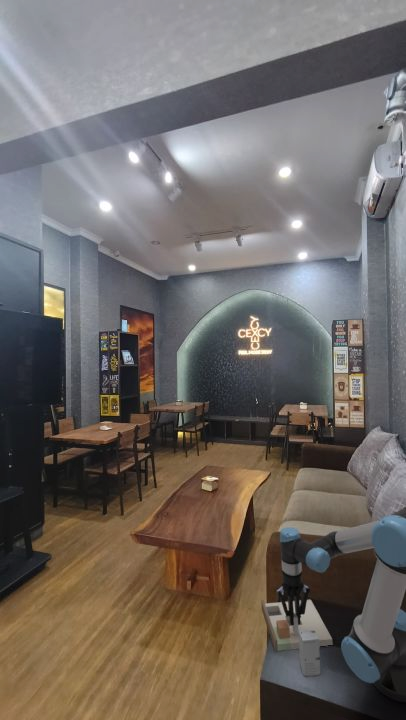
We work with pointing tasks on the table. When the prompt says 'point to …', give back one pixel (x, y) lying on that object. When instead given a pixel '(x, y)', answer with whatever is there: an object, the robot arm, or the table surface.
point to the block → (283, 629)
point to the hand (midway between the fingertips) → (295, 632)
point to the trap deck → (307, 623)
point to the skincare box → (309, 653)
